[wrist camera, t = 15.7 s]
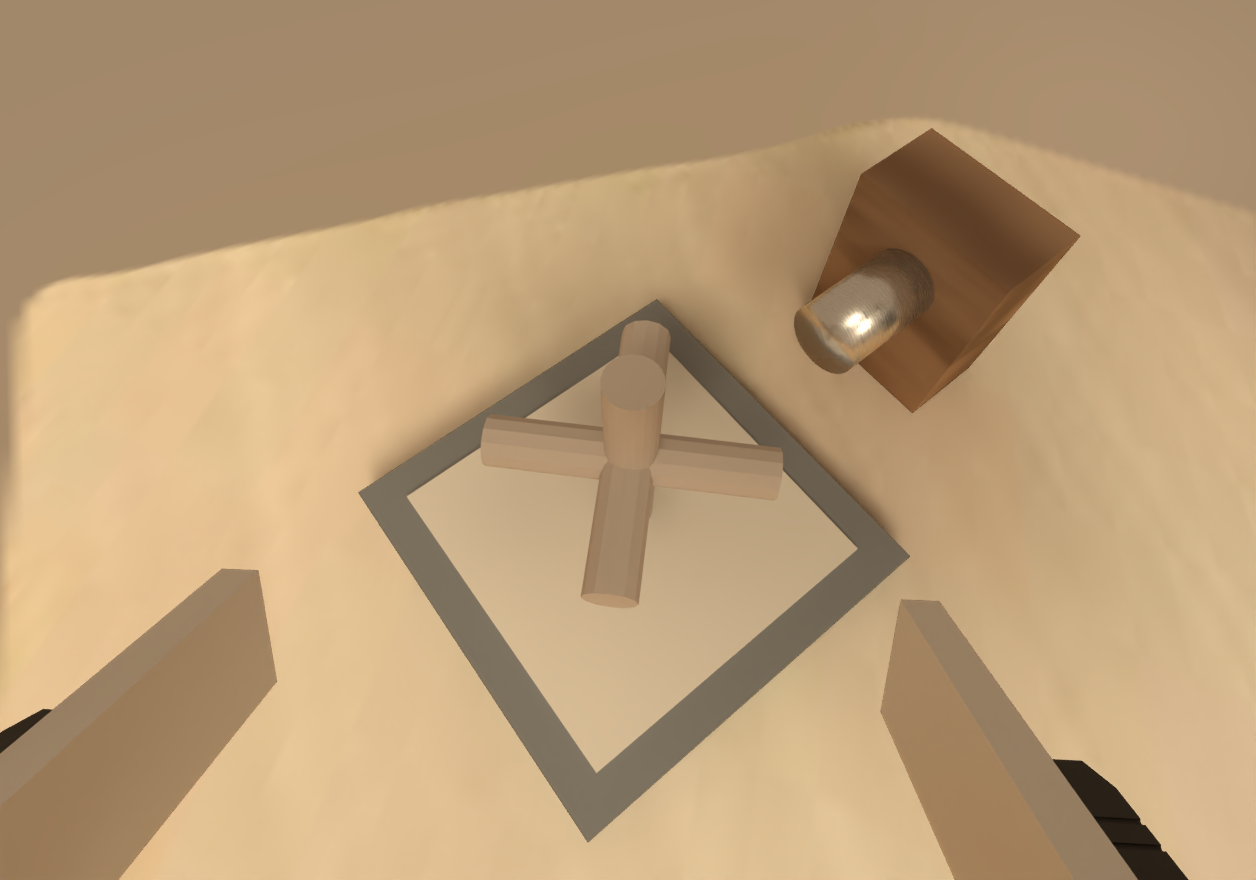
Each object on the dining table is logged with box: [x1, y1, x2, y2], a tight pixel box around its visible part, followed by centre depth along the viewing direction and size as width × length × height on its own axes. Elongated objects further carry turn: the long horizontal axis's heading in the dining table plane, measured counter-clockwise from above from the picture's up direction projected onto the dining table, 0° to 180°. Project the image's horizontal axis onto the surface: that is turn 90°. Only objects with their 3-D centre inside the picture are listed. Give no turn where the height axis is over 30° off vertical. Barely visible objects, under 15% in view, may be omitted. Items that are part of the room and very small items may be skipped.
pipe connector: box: [481, 320, 783, 608], centre depth 23 cm, size 10×10×10 cm
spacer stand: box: [358, 128, 1080, 842], centre depth 26 cm, size 26×16×9 cm, turn 128°
